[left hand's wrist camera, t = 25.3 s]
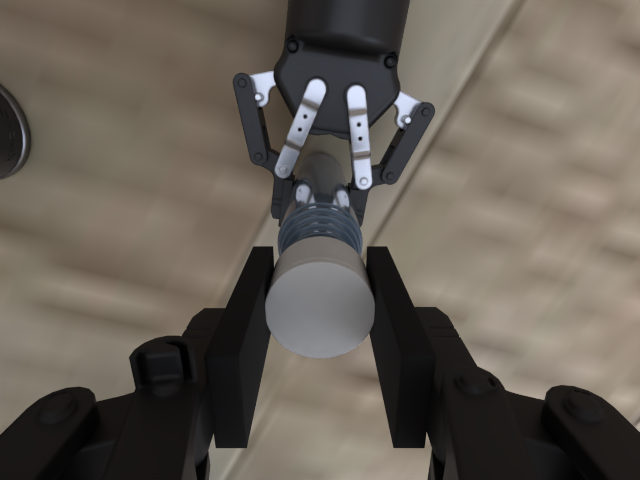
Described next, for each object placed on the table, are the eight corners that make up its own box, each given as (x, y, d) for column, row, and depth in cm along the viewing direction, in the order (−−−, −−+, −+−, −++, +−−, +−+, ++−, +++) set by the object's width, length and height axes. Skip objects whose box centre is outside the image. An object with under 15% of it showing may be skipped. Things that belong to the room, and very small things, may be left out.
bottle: (351, 167, 34) (402, 281, 13) (328, 205, 35) (340, 366, 14) (311, 144, 33) (296, 223, 12) (289, 183, 35) (240, 319, 13)
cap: (383, 257, 14) (395, 288, 12) (342, 332, 15) (346, 372, 13) (294, 220, 14) (289, 244, 11) (259, 300, 15) (248, 337, 13)
